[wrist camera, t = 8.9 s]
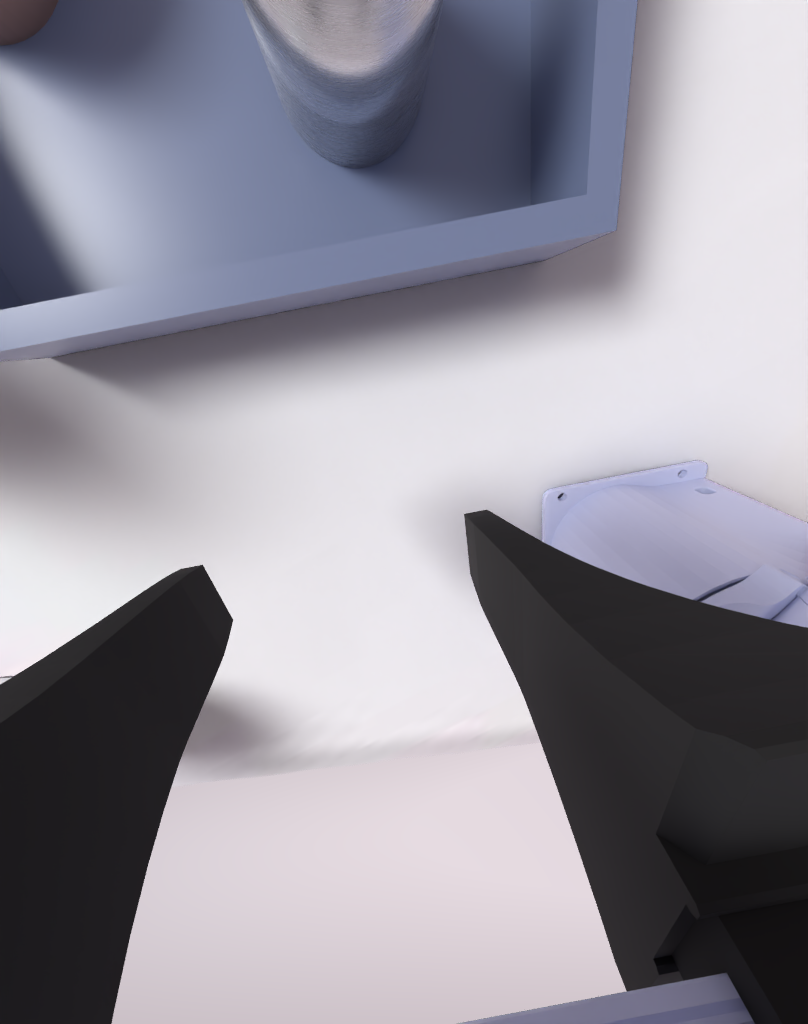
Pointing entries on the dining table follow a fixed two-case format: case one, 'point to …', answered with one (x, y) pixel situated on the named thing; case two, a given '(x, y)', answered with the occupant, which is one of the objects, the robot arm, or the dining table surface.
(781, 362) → the dining table surface
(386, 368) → the dining table surface
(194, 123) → the slate blue tote
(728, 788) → the robot arm
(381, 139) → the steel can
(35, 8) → the peach round blob
